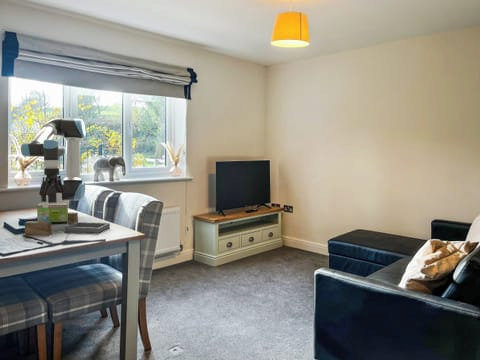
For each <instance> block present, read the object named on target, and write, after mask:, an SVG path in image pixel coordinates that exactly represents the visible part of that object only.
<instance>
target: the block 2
mask: <svg viewBox="0 0 480 360" xmlns="http://www.w3.org/2000/svg"><path fill="white" fill-rule="evenodd" d="M77 222H79V214H78V212H70V211H68V226H69V225H72V224H74V223H77Z"/></svg>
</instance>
